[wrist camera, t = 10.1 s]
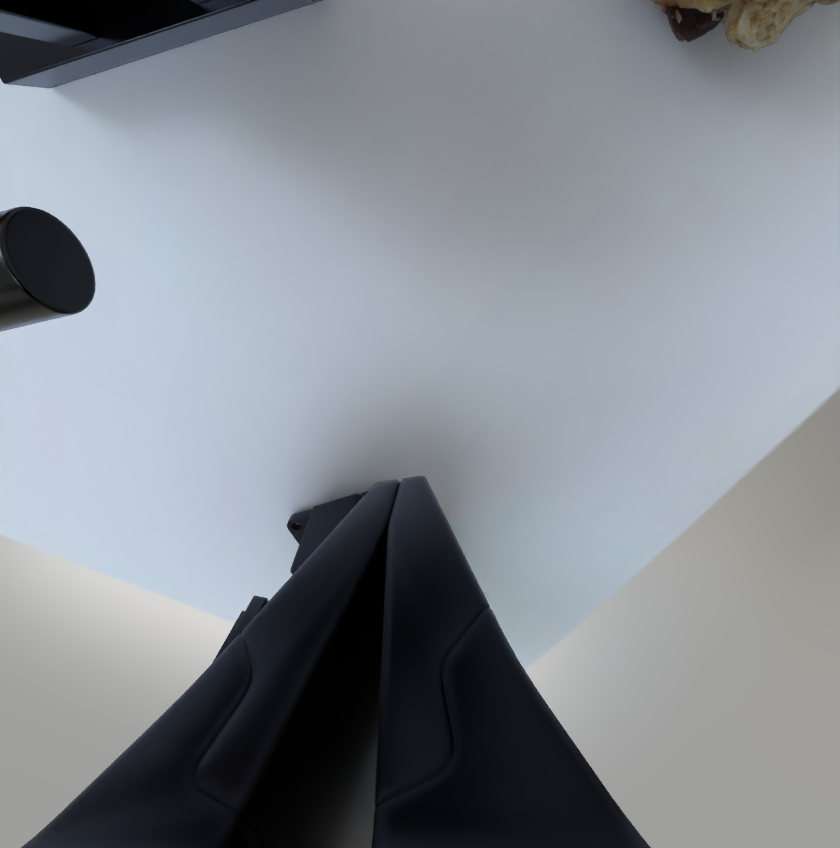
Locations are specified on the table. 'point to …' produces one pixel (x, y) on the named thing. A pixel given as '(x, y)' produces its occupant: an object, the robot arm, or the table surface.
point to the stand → (110, 32)
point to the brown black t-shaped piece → (40, 269)
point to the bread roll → (735, 18)
